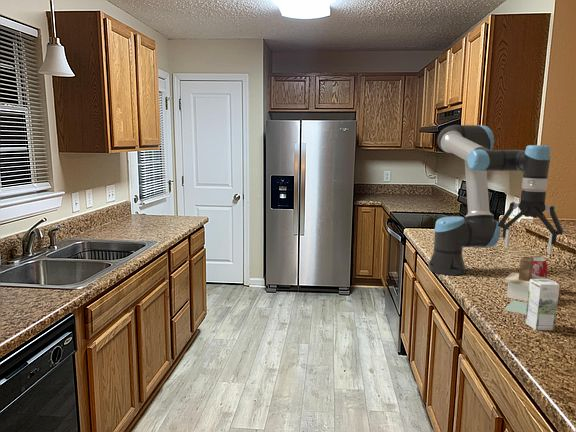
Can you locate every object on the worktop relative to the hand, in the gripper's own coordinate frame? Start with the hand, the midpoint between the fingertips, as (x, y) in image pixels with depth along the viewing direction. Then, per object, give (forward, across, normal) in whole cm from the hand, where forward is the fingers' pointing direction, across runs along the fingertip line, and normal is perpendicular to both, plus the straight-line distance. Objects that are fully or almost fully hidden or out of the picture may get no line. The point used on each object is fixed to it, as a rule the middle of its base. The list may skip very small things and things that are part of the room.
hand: (527, 250), depth 158 cm
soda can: (+18, +2, +12) cm, 22 cm away
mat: (+17, +4, -14) cm, 22 cm away
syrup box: (+17, +10, -28) cm, 34 cm away
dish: (+17, 0, -1) cm, 17 cm away
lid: (+11, 0, 0) cm, 11 cm away
